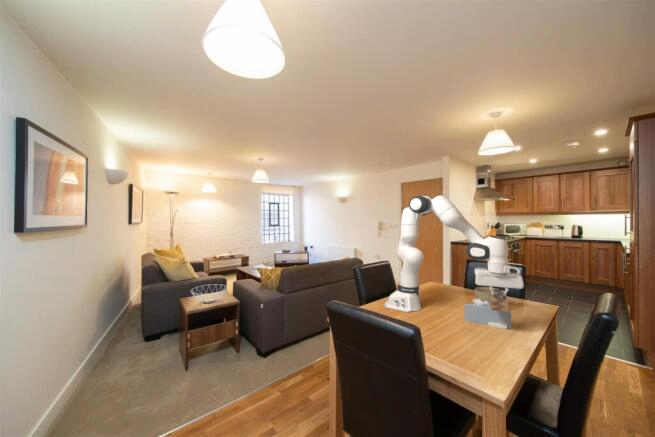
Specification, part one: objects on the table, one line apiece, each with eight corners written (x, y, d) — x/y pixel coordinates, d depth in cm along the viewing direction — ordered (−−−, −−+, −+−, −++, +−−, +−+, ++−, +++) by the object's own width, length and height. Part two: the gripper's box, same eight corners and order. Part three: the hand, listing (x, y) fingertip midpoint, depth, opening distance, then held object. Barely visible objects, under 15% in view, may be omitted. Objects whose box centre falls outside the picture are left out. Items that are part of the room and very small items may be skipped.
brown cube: (491, 309, 128) (491, 292, 128) (490, 304, 134) (489, 288, 134) (508, 312, 125) (508, 293, 124) (506, 306, 131) (505, 289, 130)
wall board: (464, 322, 139) (464, 305, 139) (464, 319, 143) (464, 303, 143) (511, 329, 130) (511, 311, 130) (510, 326, 133) (510, 309, 133)
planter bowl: (509, 308, 159) (509, 290, 159) (498, 314, 150) (497, 295, 150) (482, 301, 172) (482, 285, 172) (470, 306, 163) (469, 289, 163)
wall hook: (501, 317, 143) (496, 300, 144) (481, 320, 145) (477, 303, 146) (495, 312, 151) (490, 295, 152) (476, 315, 153) (472, 299, 154)
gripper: (474, 267, 131) (475, 294, 131) (524, 270, 121) (524, 299, 122) (473, 265, 136) (474, 291, 137) (521, 268, 127) (522, 295, 127)
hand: (498, 295), depth 129 cm, fingers closed on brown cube, 3 cm apart
